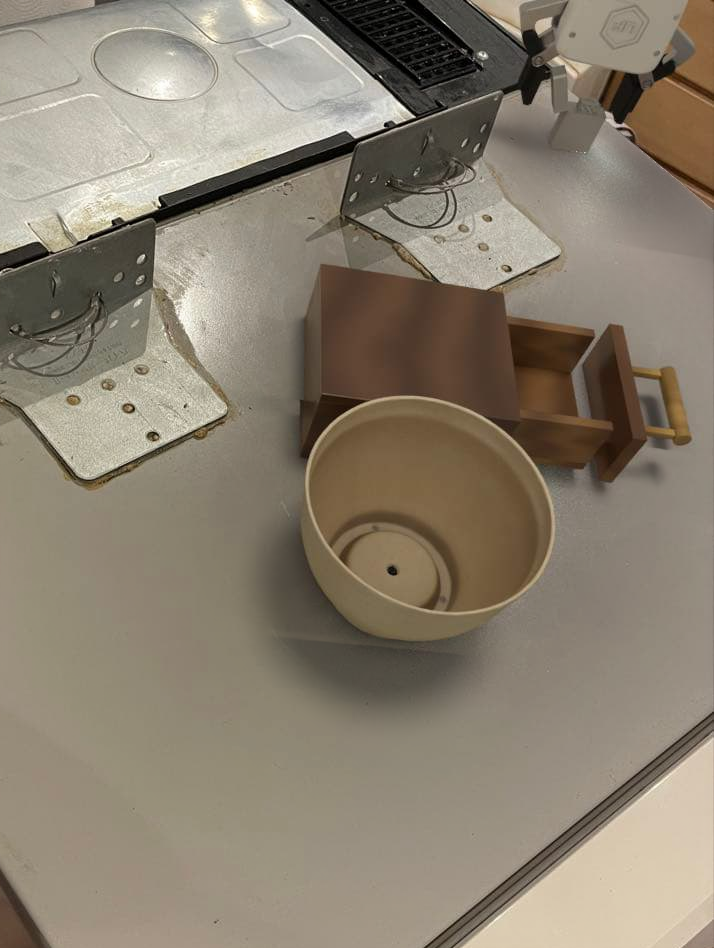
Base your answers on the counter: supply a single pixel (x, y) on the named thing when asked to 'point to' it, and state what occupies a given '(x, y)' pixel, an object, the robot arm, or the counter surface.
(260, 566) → the counter surface
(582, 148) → the lighter
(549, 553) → the planter bowl
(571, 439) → the drawer
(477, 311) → the cabinet
